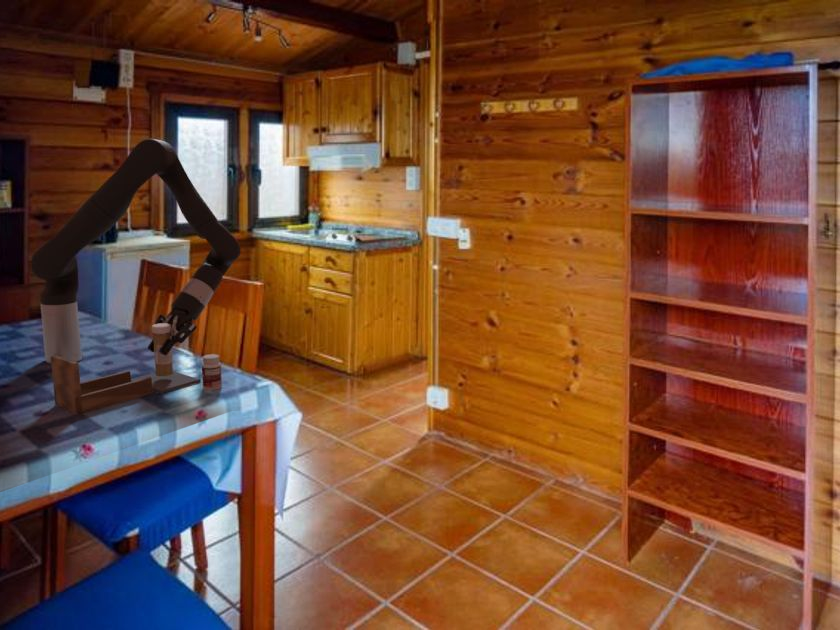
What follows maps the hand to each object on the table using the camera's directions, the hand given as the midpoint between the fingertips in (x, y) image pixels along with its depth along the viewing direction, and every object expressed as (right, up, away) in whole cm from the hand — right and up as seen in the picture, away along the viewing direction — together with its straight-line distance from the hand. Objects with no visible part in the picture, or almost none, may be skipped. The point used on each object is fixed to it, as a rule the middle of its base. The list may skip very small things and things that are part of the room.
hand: (156, 351), depth 173 cm
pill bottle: (+14, -9, 0) cm, 17 cm away
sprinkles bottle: (+1, -6, +3) cm, 7 cm away
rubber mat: (+1, -8, +3) cm, 9 cm away
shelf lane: (-8, -11, -10) cm, 17 cm away
